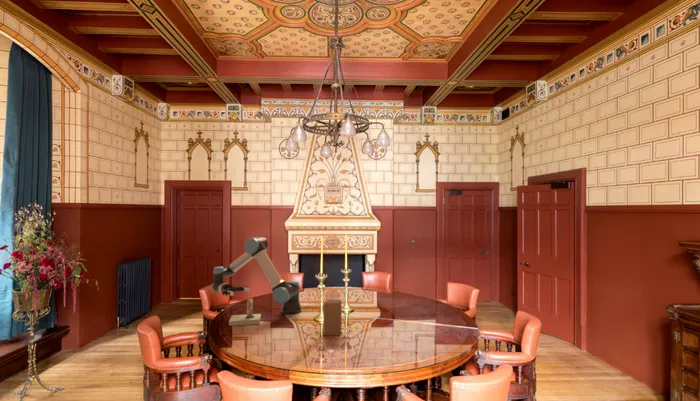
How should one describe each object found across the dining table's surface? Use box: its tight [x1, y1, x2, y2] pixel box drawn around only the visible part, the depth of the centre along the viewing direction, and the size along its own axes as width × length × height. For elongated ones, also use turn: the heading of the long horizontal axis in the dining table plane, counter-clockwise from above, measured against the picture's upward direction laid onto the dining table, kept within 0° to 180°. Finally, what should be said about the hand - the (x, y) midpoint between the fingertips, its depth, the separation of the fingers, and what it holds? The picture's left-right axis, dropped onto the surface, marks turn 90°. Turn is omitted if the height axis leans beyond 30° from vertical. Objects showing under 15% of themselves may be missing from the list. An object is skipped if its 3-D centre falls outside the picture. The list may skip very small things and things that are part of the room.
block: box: [323, 298, 342, 337], centre depth 222 cm, size 10×10×20 cm
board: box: [228, 313, 262, 327], centre depth 246 cm, size 20×14×3 cm
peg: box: [246, 298, 254, 318], centre depth 247 cm, size 4×4×15 cm
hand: (241, 292), depth 253 cm, fingers open, 13 cm apart
